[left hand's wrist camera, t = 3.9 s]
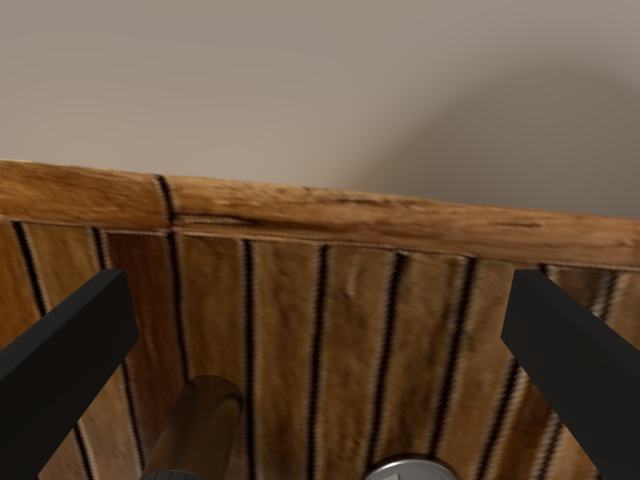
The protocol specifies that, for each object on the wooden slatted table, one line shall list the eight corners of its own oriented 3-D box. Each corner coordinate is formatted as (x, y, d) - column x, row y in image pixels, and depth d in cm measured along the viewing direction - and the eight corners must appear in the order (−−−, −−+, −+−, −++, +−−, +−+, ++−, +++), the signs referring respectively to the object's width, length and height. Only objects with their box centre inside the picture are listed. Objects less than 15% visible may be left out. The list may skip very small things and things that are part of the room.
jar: (177, 418, 52) (123, 542, 37) (182, 370, 49) (125, 485, 34) (238, 428, 52) (207, 554, 38) (247, 381, 49) (217, 498, 35)
